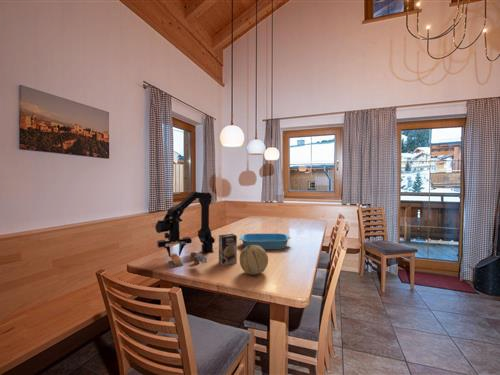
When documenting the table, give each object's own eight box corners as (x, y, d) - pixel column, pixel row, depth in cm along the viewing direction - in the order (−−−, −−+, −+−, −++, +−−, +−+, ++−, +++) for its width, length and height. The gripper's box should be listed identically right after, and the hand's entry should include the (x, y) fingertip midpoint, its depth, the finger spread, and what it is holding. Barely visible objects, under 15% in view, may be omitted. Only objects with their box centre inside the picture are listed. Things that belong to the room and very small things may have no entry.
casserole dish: (238, 250, 160) (238, 240, 159) (240, 241, 182) (240, 232, 182) (292, 251, 158) (292, 240, 158) (288, 242, 181) (288, 233, 180)
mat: (179, 260, 140) (179, 259, 140) (183, 265, 132) (183, 264, 132) (168, 262, 137) (168, 260, 137) (172, 267, 129) (172, 266, 129)
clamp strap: (200, 257, 132) (200, 252, 132) (206, 262, 123) (206, 258, 123) (196, 257, 131) (196, 253, 131) (202, 263, 122) (202, 259, 122)
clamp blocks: (194, 258, 143) (194, 252, 142) (199, 263, 134) (199, 256, 134) (190, 259, 141) (190, 252, 141) (195, 264, 133) (195, 257, 133)
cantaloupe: (274, 273, 120) (274, 244, 120) (254, 282, 110) (253, 250, 109) (253, 265, 131) (253, 239, 130) (233, 273, 120) (233, 244, 120)
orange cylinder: (181, 264, 131) (181, 257, 131) (173, 265, 129) (173, 258, 129) (177, 259, 139) (177, 252, 139) (170, 260, 137) (170, 253, 137)
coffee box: (222, 265, 131) (222, 237, 130) (218, 262, 137) (218, 234, 136) (237, 263, 135) (237, 235, 135) (232, 259, 141) (232, 233, 140)
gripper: (186, 225, 148) (186, 250, 148) (155, 229, 138) (155, 255, 139) (191, 229, 138) (192, 255, 139) (158, 232, 129) (158, 260, 129)
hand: (174, 256), depth 137 cm, fingers open, 5 cm apart
